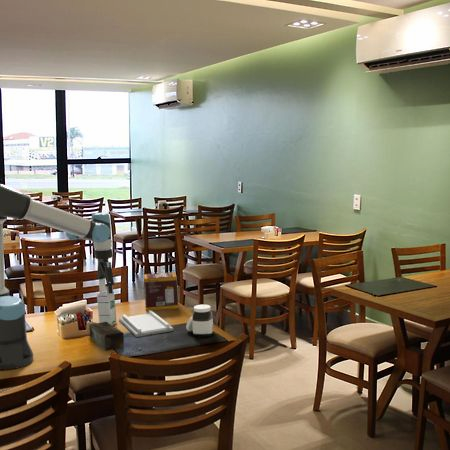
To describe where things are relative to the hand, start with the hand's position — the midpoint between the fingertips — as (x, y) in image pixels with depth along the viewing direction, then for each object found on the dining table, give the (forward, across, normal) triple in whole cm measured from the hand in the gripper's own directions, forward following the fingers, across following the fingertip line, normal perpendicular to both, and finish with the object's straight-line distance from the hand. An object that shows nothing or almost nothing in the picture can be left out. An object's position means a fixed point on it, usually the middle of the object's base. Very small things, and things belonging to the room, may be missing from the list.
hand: (106, 296), depth 246 cm
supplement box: (+13, +15, -30) cm, 36 cm away
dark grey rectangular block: (+13, -23, +7) cm, 27 cm away
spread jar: (+13, -32, -30) cm, 46 cm away
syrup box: (+13, 0, 0) cm, 13 cm away
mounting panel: (+12, -10, -14) cm, 21 cm away
